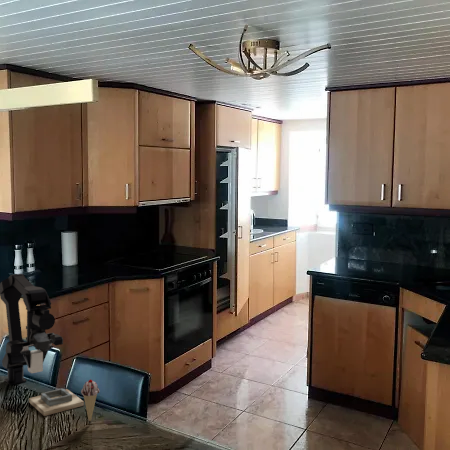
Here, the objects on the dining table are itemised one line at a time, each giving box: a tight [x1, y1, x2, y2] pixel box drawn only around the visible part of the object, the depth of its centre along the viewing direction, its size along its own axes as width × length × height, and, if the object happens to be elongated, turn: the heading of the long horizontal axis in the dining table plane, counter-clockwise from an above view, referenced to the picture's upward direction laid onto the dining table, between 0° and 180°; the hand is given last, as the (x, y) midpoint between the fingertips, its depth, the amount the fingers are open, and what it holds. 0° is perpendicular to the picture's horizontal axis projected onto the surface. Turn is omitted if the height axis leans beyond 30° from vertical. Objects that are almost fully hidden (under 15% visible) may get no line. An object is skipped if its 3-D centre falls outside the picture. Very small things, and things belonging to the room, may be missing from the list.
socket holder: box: [28, 387, 85, 417], centre depth 177 cm, size 14×14×4 cm
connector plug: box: [27, 349, 44, 374], centre depth 182 cm, size 4×4×7 cm
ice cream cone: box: [80, 379, 100, 425], centre depth 162 cm, size 6×6×15 cm
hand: (35, 366), depth 182 cm, fingers closed on connector plug, 4 cm apart
